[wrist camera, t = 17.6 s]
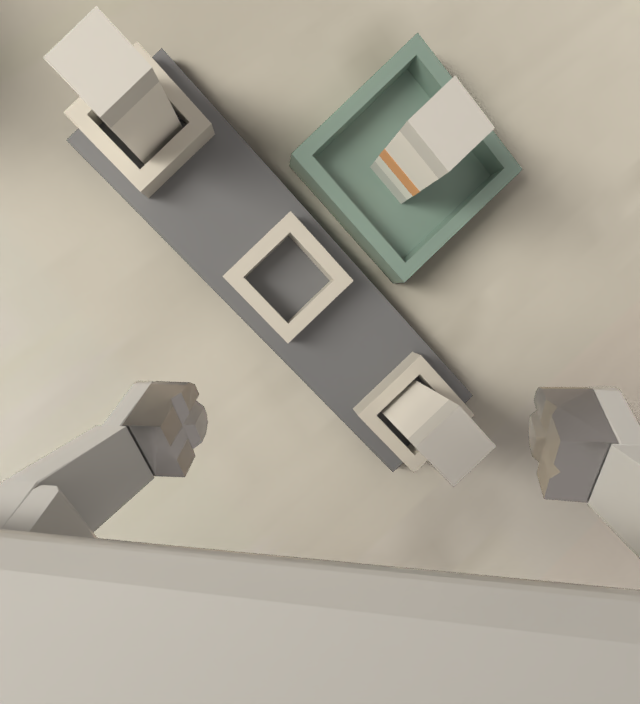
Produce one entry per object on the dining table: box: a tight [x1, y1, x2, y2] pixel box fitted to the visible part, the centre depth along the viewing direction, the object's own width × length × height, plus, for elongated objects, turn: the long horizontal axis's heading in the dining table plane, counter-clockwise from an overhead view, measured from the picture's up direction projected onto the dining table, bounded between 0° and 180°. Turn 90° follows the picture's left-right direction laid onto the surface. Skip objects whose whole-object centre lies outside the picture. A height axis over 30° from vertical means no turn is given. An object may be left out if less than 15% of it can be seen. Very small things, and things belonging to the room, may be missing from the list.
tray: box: [289, 33, 522, 283], centre depth 33 cm, size 12×12×3 cm
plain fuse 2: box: [381, 379, 496, 487], centre depth 31 cm, size 4×4×9 cm
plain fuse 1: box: [43, 6, 183, 164], centre depth 26 cm, size 4×4×9 cm
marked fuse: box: [370, 76, 495, 204], centre depth 29 cm, size 4×4×9 cm
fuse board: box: [63, 42, 475, 473], centre depth 33 cm, size 9×34×4 cm, turn 43°
